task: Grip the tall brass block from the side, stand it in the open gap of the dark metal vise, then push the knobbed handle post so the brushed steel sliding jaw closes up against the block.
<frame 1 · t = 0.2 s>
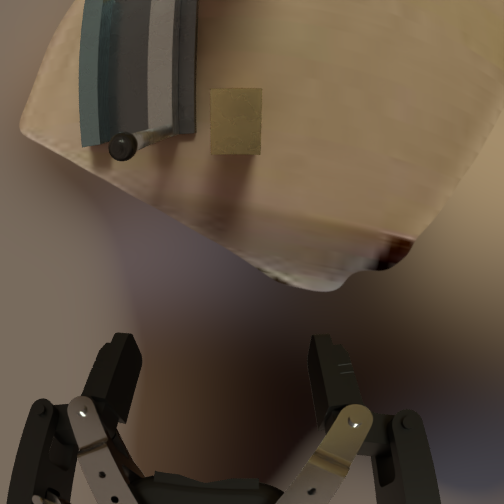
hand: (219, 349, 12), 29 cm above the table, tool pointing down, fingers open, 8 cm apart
vise: (131, 61, 28), on the table
block: (242, 116, 33), on the table
sliding jaw: (146, 43, 20), point 9 cm above the table, slide at 0.0 cm
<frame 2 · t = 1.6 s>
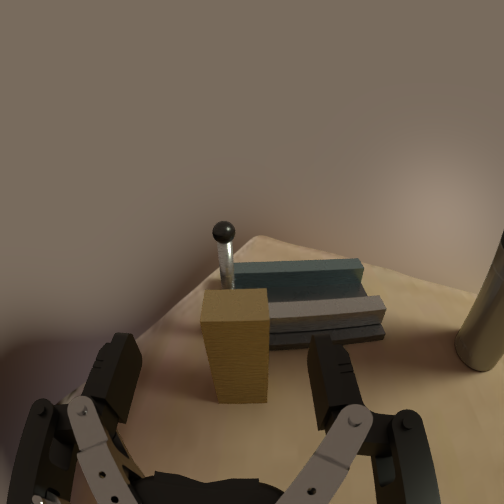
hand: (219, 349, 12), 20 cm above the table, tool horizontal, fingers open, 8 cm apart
vise: (300, 304, 44), on the table
block: (242, 389, 31), on the table
sliding jaw: (311, 278, 34), point 9 cm above the table, slide at 0.0 cm
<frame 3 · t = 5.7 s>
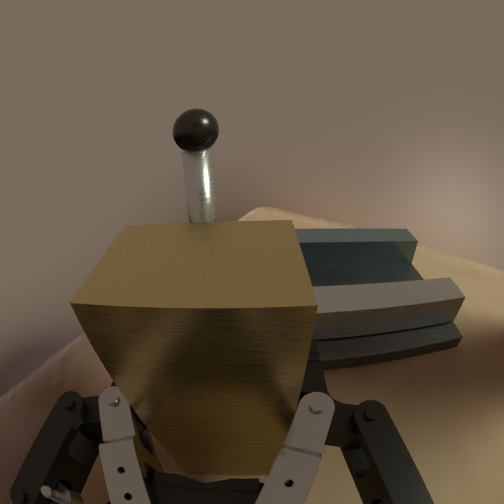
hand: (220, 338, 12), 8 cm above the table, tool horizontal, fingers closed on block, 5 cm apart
vise: (328, 294, 27), on the table
block: (232, 447, 14), on the table, touching gripper
sliding jaw: (363, 238, 17), point 9 cm above the table, slide at 0.0 cm
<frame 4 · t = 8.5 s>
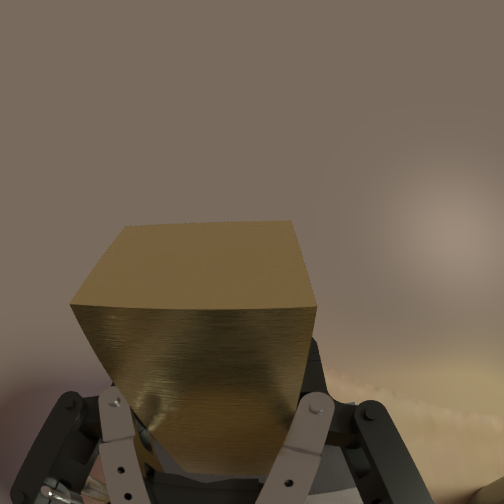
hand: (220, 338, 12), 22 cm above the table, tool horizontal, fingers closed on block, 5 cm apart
vise: (252, 471, 23), on the table
block: (231, 447, 14), point 14 cm above the table, touching gripper
when the fingers open (10 cm above the table, at t = 11.5 s): block stays where it is, resting on vise.
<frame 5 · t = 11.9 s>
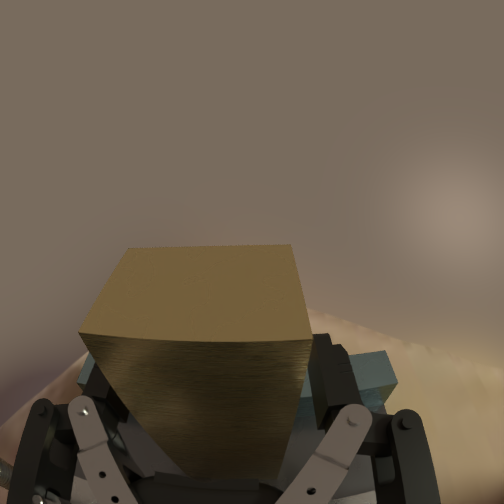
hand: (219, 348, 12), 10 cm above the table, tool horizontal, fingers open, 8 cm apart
vise: (233, 462, 15), on the table
block: (232, 452, 15), point 1 cm above the table, touching vise
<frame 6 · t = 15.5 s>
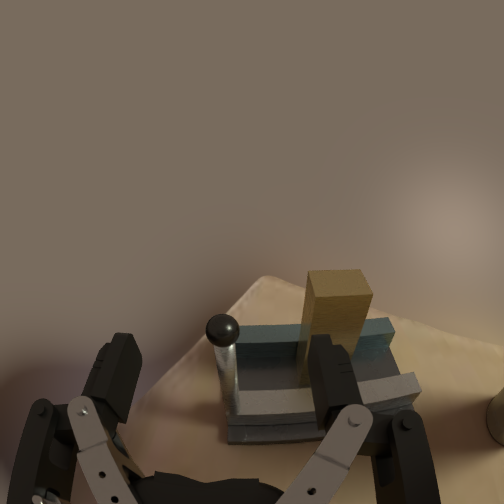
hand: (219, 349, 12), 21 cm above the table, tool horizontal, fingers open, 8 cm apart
vise: (317, 377, 33), on the table
block: (318, 370, 33), point 1 cm above the table, touching vise
sliding jaw: (340, 372, 23), point 9 cm above the table, slide at 0.0 cm
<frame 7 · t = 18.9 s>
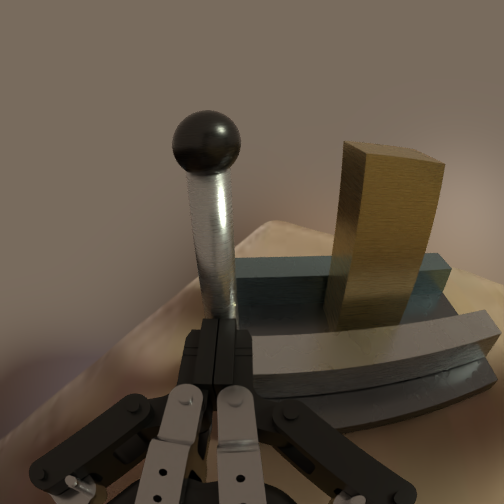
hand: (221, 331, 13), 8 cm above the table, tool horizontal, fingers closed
vise: (356, 333, 22), on the table
block: (358, 321, 22), point 1 cm above the table, touching vise
sliding jaw: (413, 282, 13), point 9 cm above the table, slide at 0.7 cm, touching gripper
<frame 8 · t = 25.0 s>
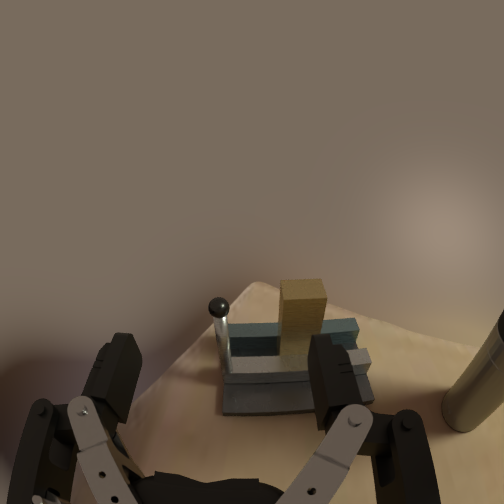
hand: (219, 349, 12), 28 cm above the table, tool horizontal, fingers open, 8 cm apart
vise: (294, 365, 43), on the table
block: (294, 356, 43), point 1 cm above the table, touching vise
sliding jaw: (301, 340, 35), point 9 cm above the table, slide at 3.0 cm
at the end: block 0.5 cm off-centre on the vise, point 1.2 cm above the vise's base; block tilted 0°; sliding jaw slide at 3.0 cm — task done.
